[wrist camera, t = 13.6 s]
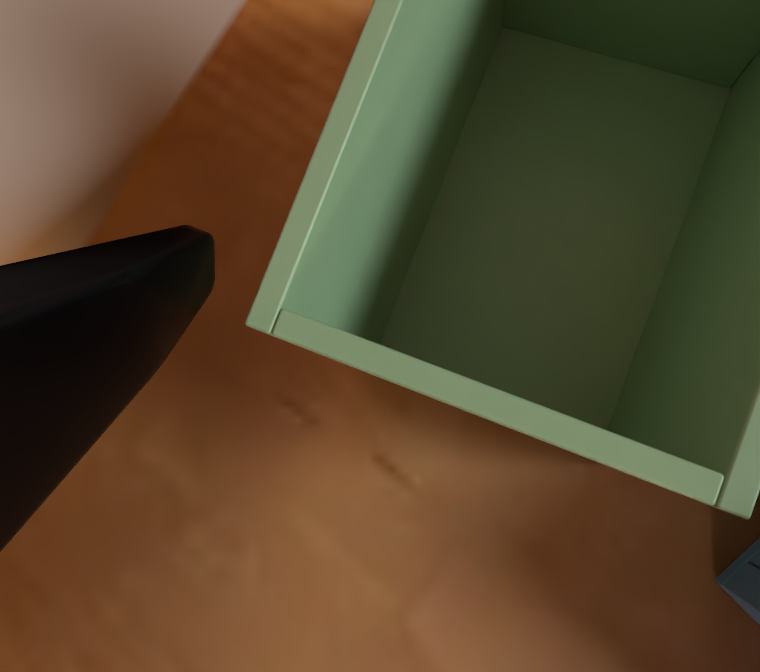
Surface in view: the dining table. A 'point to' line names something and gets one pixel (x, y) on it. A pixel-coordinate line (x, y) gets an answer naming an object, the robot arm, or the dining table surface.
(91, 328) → the robot arm
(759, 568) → the box
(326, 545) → the dining table surface
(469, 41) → the caddy
